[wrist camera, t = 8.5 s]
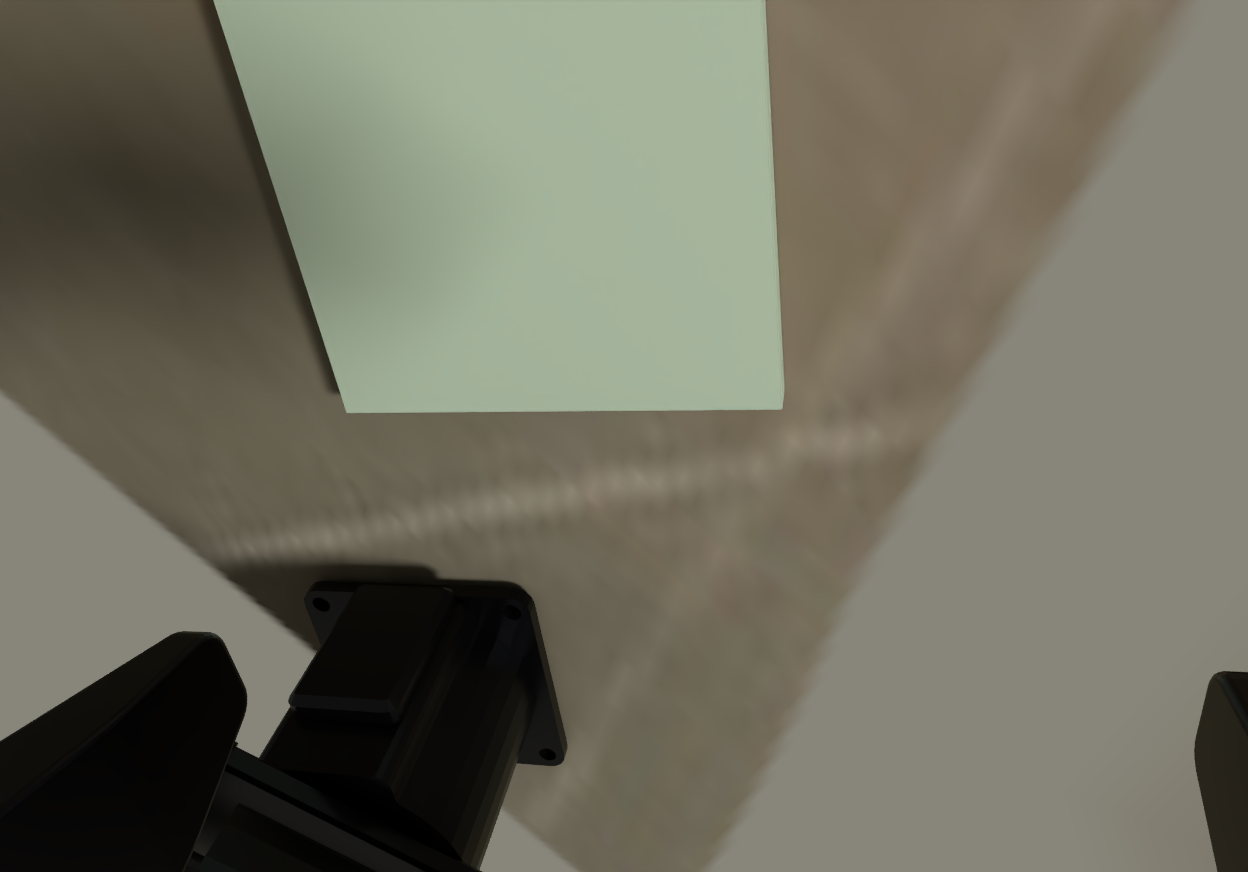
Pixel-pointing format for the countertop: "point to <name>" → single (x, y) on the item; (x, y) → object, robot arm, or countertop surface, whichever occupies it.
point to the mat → (525, 197)
